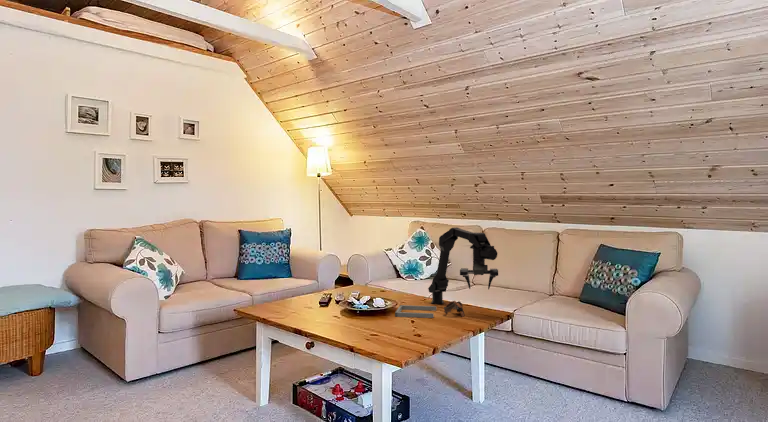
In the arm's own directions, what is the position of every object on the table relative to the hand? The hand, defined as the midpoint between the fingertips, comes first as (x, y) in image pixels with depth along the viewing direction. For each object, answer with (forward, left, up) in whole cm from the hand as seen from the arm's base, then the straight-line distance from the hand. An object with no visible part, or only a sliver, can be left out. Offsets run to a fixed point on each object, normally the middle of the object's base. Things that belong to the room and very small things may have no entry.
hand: (479, 289), depth 250 cm
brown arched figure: (0, -12, -14) cm, 18 cm away
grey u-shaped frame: (0, -32, -13) cm, 35 cm away
